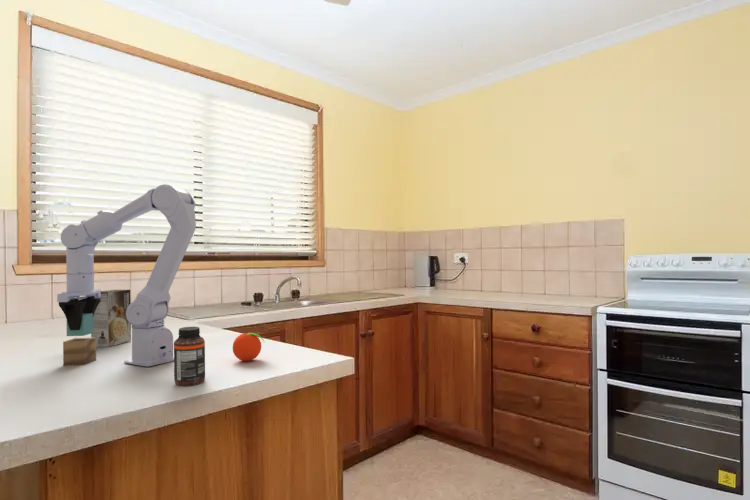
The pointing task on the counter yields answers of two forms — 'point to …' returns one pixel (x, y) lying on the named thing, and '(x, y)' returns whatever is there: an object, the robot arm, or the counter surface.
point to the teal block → (83, 326)
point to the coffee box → (112, 318)
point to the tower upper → (79, 345)
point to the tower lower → (79, 358)
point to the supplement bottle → (189, 357)
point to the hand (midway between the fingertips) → (80, 328)
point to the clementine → (247, 346)
